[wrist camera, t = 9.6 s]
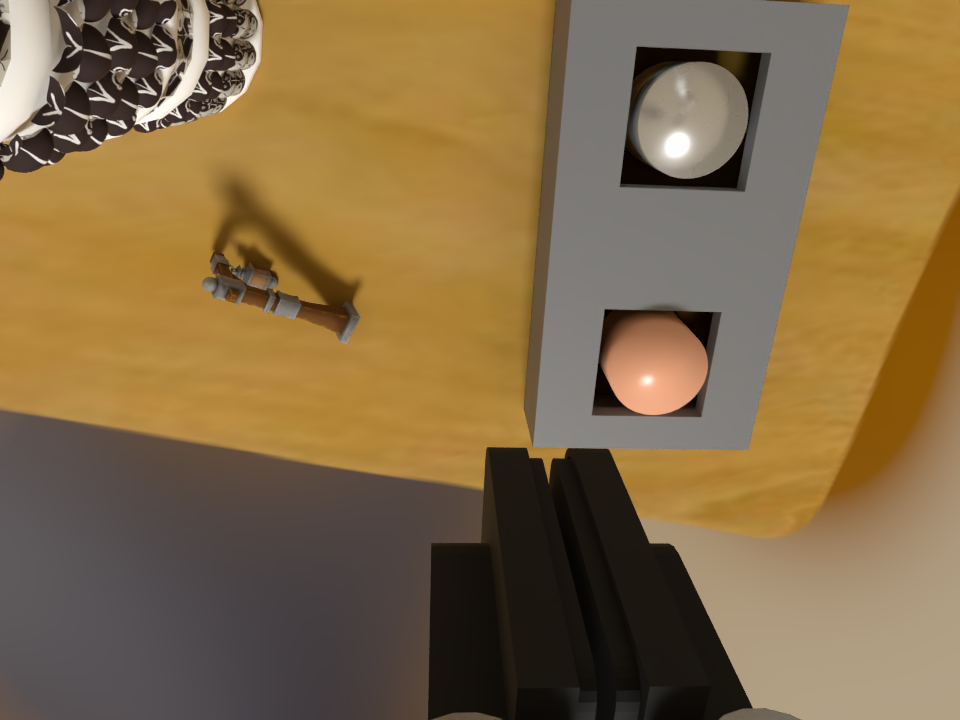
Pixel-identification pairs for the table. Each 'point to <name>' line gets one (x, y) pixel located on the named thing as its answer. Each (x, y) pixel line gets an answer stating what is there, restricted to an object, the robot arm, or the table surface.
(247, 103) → the table surface
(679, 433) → the button housing
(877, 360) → the table surface
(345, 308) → the wooden post with brackets
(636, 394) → the terracotta plunger
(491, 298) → the table surface
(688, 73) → the cream short cylinder
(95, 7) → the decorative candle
